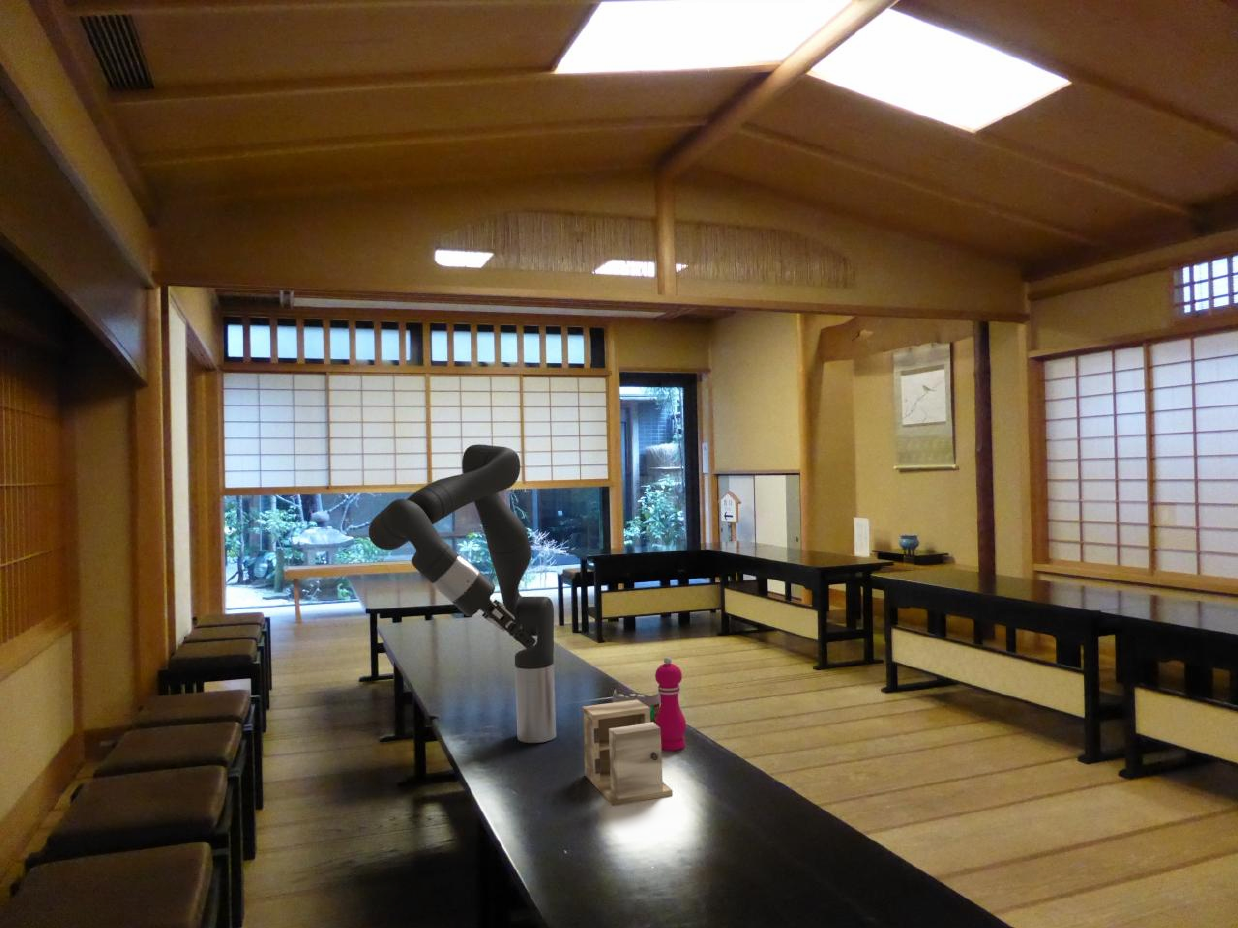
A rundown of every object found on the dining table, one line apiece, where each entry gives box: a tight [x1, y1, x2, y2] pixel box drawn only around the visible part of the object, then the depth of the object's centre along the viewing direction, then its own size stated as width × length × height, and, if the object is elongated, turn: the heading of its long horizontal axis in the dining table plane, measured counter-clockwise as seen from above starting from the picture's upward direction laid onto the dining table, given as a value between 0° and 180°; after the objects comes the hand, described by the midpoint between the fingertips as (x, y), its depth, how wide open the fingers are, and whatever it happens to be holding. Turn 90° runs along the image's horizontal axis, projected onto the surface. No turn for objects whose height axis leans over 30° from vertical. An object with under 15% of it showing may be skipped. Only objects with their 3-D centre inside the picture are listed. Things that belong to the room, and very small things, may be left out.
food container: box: [612, 689, 661, 724], centre depth 194 cm, size 12×6×10 cm, turn 68°
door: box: [609, 722, 664, 799], centre depth 157 cm, size 5×9×12 cm, turn 110°
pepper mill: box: [654, 656, 687, 752], centre depth 186 cm, size 7×7×20 cm
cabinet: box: [582, 700, 673, 807], centre depth 164 cm, size 18×12×14 cm
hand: (526, 641), depth 156 cm, fingers open, 8 cm apart
